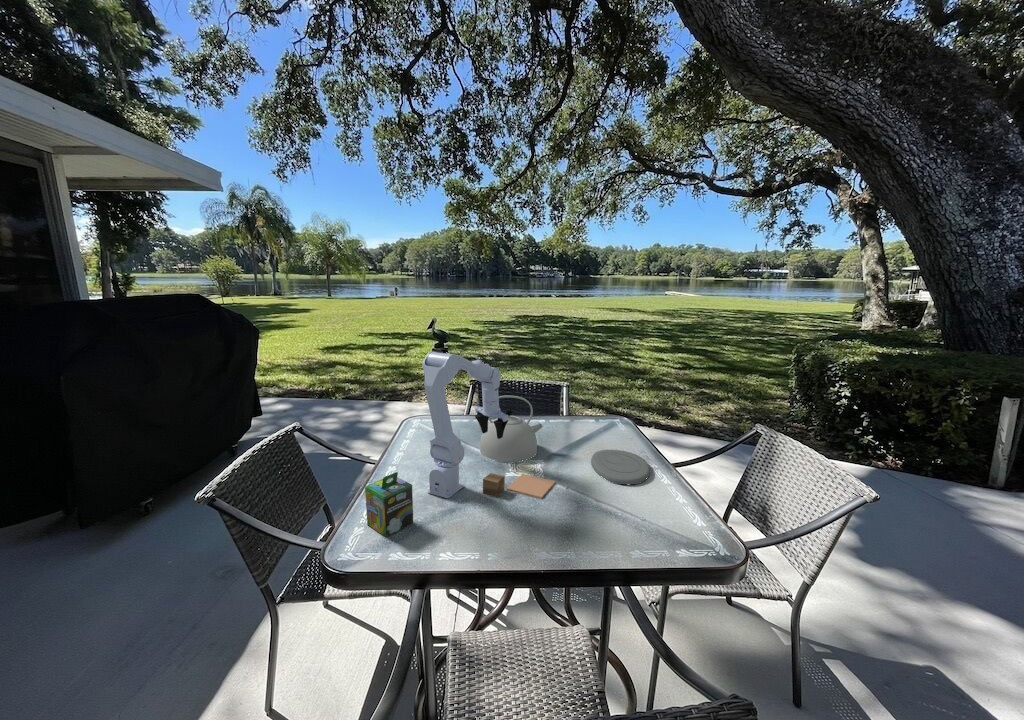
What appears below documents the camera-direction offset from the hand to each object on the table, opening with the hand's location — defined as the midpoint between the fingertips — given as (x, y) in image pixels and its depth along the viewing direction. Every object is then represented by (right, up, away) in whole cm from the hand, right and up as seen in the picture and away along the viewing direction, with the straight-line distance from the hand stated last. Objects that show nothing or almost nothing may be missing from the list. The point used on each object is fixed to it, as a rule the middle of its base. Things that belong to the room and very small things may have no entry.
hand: (492, 435), depth 153 cm
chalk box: (-26, -18, -39) cm, 50 cm away
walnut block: (+1, -14, -20) cm, 25 cm away
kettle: (+7, -9, +14) cm, 18 cm away
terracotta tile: (+13, -14, -16) cm, 25 cm away
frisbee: (+46, -12, -1) cm, 48 cm away
